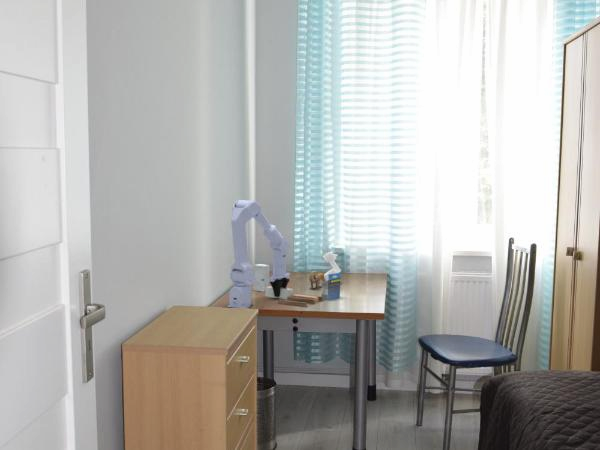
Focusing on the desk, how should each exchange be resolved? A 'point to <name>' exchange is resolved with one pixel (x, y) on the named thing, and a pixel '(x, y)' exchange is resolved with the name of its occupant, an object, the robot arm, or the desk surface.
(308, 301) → the walnut drying rack
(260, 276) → the skincare box
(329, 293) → the label tape box
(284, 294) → the strip
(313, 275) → the lion figurine
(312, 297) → the terracotta strip
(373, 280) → the desk surface
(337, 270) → the voxel character
